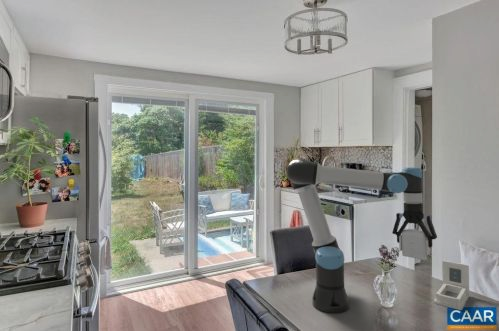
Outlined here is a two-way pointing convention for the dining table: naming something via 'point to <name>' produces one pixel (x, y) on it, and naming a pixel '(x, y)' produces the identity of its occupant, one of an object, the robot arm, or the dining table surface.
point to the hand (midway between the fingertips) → (414, 252)
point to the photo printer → (414, 244)
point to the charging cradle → (453, 285)
